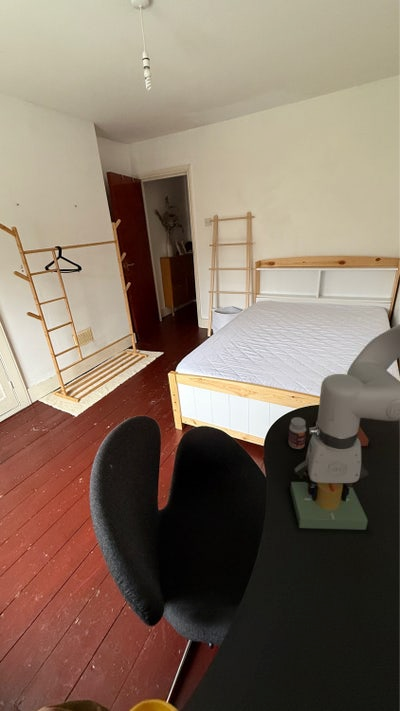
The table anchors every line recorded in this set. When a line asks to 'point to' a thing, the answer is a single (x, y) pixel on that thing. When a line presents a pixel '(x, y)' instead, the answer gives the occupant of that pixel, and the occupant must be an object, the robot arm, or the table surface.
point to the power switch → (361, 437)
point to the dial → (329, 495)
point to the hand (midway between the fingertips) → (327, 495)
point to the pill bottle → (297, 433)
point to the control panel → (327, 511)
